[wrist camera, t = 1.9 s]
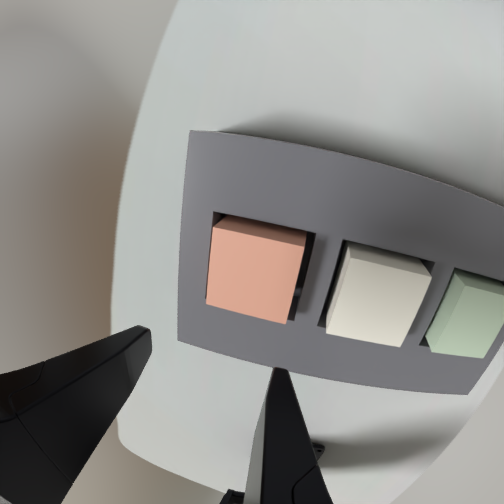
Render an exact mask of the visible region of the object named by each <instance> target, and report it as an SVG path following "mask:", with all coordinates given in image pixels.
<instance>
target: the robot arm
mask: <svg viewBox="0 0 504 504" xmlns="http://www.w3.org/2000/svg"><path fill="white" fill-rule="evenodd" d="M151 353H152V340H151V331H150V329H148V328H146V327H143V326H140V325H137V326H134V327H132V328H129V329H127V330H124V331H122V332H119V333H116V334H114V335H111V336H109V337H107V338H104V339H101V340H98V341H96V342H93V343H91V344H88V345H85V346H83V347H80V348H78V349H75V350H72V351H70V352H67V353H64V354H62V355H59V356H56V357H54V358H51V359H48V360H46V361H45V362H44V361H42V362H40V363H37V364H35V365H31V366H28V367H25V368H22V369H19V370H15V371H12V372H8V373H4V374H0V504H61V503H62V501H63V499H64V498H65V496H66V494H67V493H68V491H69V489H70V488H71V486H72V485H73V483H74V481H75V479H76V478H77V476H78V475H79V473H80V472H81V470H82V469H83V467H84V465H85V464H86V462H87V461H88V459H89V458H90V456H91V454H92V453H93V451H94V450H95V448H96V447H97V445H98V443H99V442H100V440H101V439H102V437H103V436H104V434H105V433H106V431H107V429H108V428H109V426H110V425H111V423H112V422H113V420H114V419H115V417H116V416H117V414H118V413H119V411H120V410H121V408H122V406H123V405H124V403H125V402H126V400H127V399H128V397H129V396H130V394H131V393H132V391H133V389H134V387H135V385H136V383H137V381H138V379H139V377H140V375H141V373H142V371H143V369H144V367H145V365H146V363H147V361H148V359H149V357H150V355H151ZM324 450H325V447H324V446H322V445H315V444H312V443H311V440H310V437H309V434H308V431H307V427H306V424H305V421H304V418H303V415H302V412H301V409H300V406H299V403H298V399H297V396H296V393H295V390H294V387H293V384H292V381H291V378H290V375H289V372H288V370H287V369H284V368H280V367H274V368H273V370H272V374H271V377H270V381H269V384H268V388H267V391H266V395H265V399H264V402H263V406H262V409H261V413H260V416H259V420H258V423H257V426H256V430H255V434H254V440H253V446H252V453H251V459H250V465H249V472H248V478H247V484H246V490H245V493H244V492H238V491H234V490H231V489H228V491H227V493H226V494H225V495H224V496H223V498H222V500H221V502H220V504H333V502H332V499H331V497H330V495H329V493H328V490H327V488H326V485H325V482H324V479H323V477H322V474H321V470H320V467H319V465H317V464H318V462H317V460H318V459H319V458H320V456H321V455H322V454H323V452H324Z"/></svg>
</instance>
